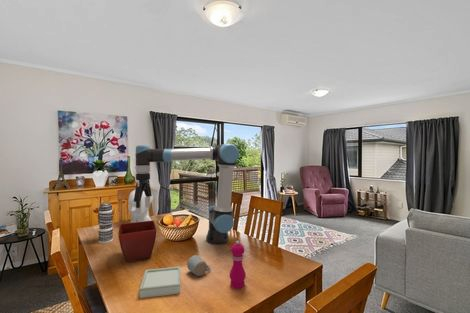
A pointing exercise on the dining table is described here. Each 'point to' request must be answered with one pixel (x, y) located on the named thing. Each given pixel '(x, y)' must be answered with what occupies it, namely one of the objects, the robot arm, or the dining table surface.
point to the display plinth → (160, 282)
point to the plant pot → (137, 240)
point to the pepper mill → (237, 267)
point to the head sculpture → (144, 211)
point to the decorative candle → (105, 223)
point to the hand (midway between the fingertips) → (143, 210)
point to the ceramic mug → (197, 265)
